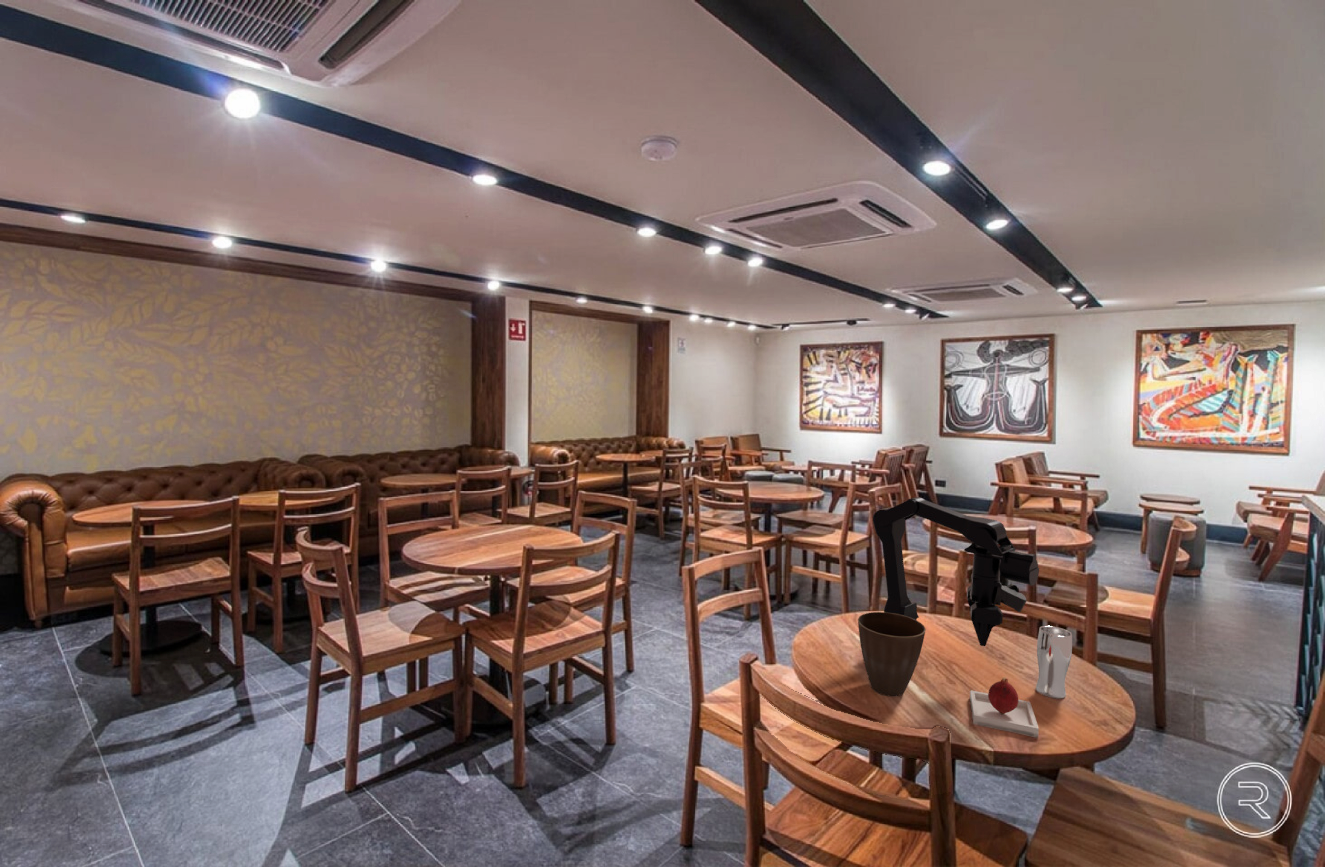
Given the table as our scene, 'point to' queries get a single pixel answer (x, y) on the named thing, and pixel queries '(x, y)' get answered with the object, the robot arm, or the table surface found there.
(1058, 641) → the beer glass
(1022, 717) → the dish
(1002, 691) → the onion
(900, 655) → the plant pot
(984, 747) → the table surface
